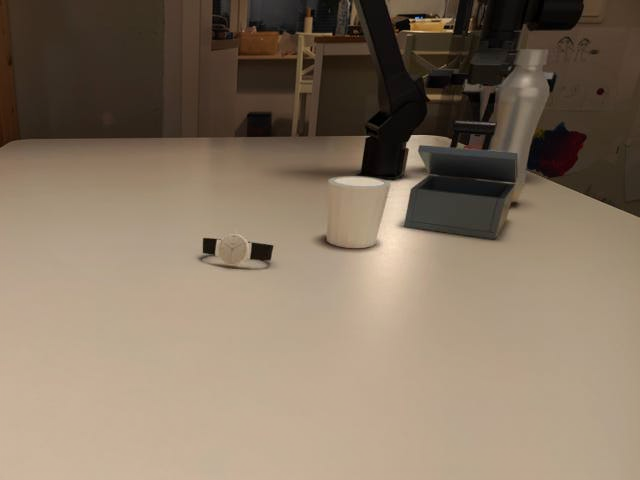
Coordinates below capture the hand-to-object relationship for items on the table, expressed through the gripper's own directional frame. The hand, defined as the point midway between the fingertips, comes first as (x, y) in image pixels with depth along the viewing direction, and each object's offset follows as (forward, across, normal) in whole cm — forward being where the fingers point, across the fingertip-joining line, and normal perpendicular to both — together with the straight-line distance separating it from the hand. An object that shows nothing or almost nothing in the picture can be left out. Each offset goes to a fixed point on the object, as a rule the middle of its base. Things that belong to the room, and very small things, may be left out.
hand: (477, 136), depth 104 cm
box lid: (0, +4, -34) cm, 34 cm away
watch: (+7, -13, -63) cm, 65 cm away
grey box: (+7, +4, -34) cm, 35 cm away
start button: (+3, 0, 0) cm, 3 cm away
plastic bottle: (+7, +7, -19) cm, 21 cm away
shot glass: (+7, -5, -49) cm, 50 cm away
